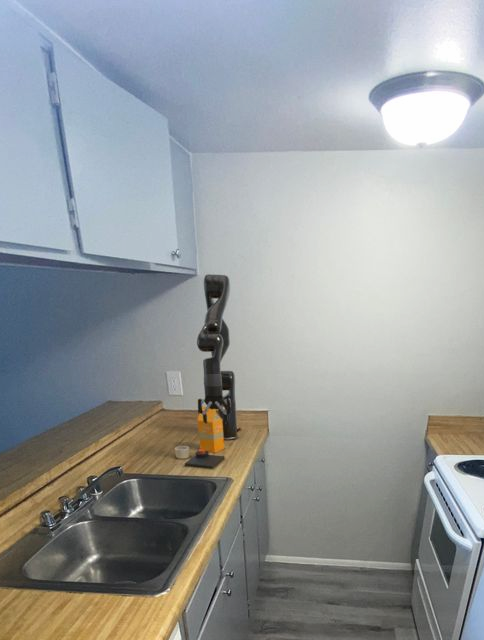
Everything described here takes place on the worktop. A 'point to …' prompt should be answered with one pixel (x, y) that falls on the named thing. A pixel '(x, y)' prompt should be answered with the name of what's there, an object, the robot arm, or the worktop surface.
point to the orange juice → (211, 431)
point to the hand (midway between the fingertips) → (215, 423)
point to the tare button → (201, 451)
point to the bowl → (182, 452)
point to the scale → (204, 460)
